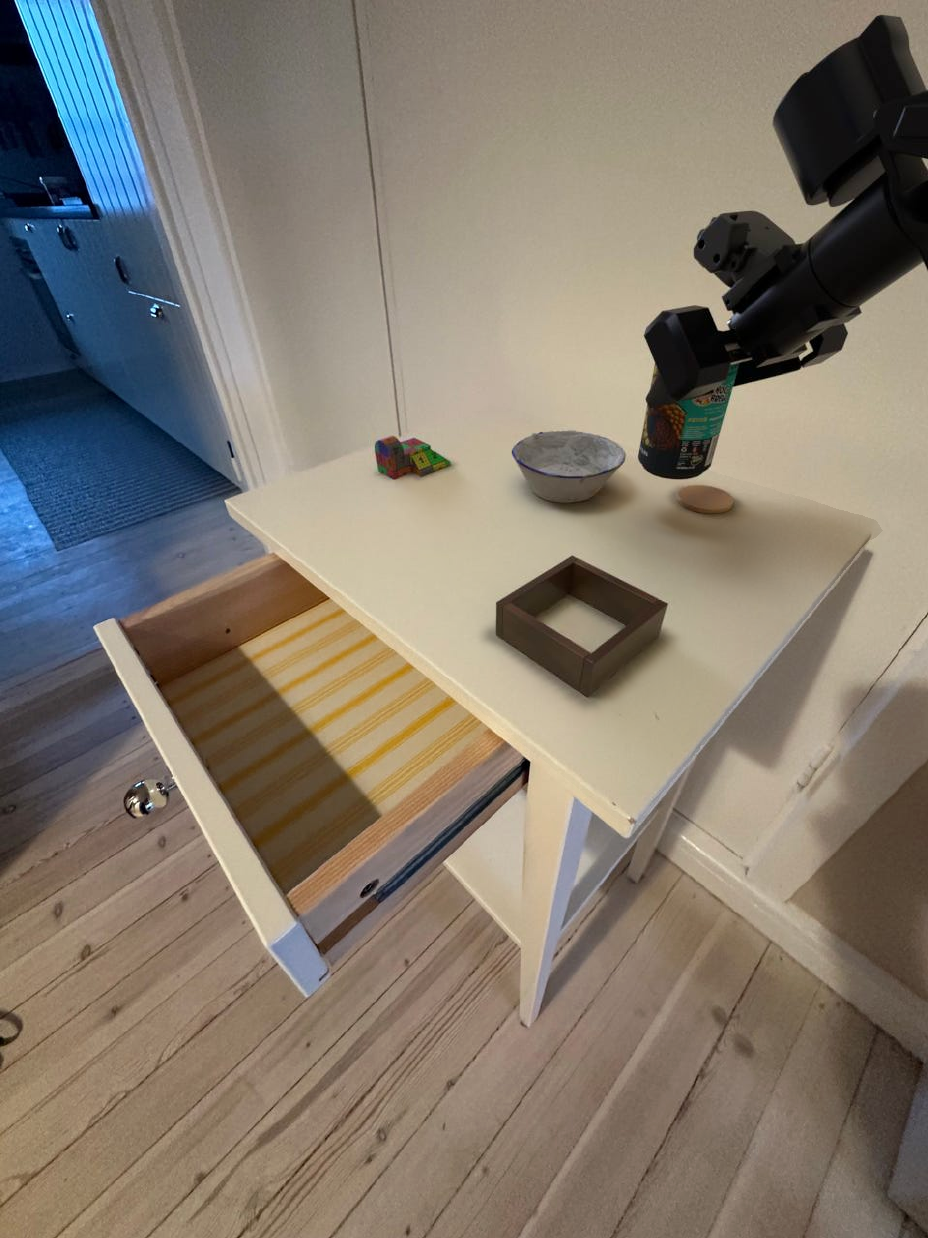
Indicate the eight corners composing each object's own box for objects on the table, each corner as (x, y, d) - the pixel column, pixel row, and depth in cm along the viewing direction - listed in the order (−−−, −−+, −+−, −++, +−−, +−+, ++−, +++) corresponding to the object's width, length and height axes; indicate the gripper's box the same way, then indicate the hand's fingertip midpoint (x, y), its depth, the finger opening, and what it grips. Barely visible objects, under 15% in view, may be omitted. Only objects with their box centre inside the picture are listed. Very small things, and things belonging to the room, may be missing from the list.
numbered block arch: (401, 483, 66) (397, 448, 63) (377, 470, 69) (372, 436, 66) (450, 464, 70) (449, 431, 67) (426, 452, 73) (423, 420, 70)
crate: (659, 636, 44) (668, 603, 41) (587, 697, 39) (593, 664, 37) (568, 586, 49) (572, 555, 47) (495, 634, 44) (495, 602, 42)
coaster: (739, 497, 61) (740, 493, 61) (722, 518, 57) (724, 514, 57) (687, 484, 64) (688, 480, 64) (669, 504, 60) (670, 500, 60)
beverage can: (629, 454, 56) (651, 328, 48) (696, 452, 56) (728, 325, 48) (646, 483, 51) (673, 347, 43) (719, 481, 51) (760, 343, 43)
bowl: (489, 492, 64) (490, 454, 61) (547, 457, 71) (549, 421, 68) (584, 525, 57) (590, 484, 54) (636, 482, 65) (644, 443, 62)
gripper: (873, 156, 39) (712, 306, 54) (695, 164, 32) (566, 333, 47) (933, 293, 39) (754, 406, 53) (766, 330, 32) (614, 447, 47)
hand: (676, 395), depth 50 cm, fingers closed on beverage can, 7 cm apart
